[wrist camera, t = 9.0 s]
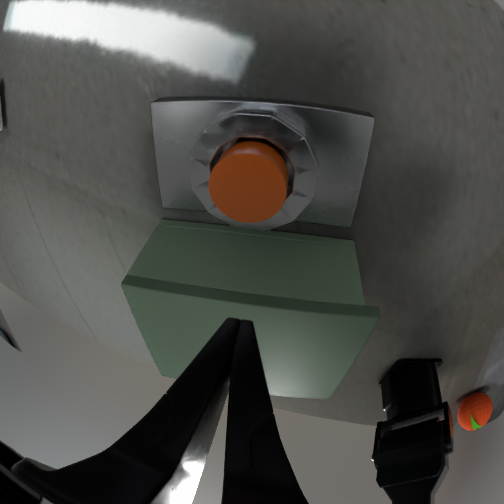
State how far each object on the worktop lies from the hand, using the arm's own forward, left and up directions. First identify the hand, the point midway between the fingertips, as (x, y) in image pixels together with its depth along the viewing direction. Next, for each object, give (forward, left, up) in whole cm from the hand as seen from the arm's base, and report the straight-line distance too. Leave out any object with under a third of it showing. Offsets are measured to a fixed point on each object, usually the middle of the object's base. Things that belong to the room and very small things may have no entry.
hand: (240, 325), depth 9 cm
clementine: (-38, +32, -11) cm, 51 cm away
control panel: (+1, -2, -11) cm, 11 cm away
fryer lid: (0, +9, -5) cm, 10 cm away
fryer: (+1, +9, -11) cm, 14 cm away
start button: (+1, -2, -8) cm, 8 cm away
